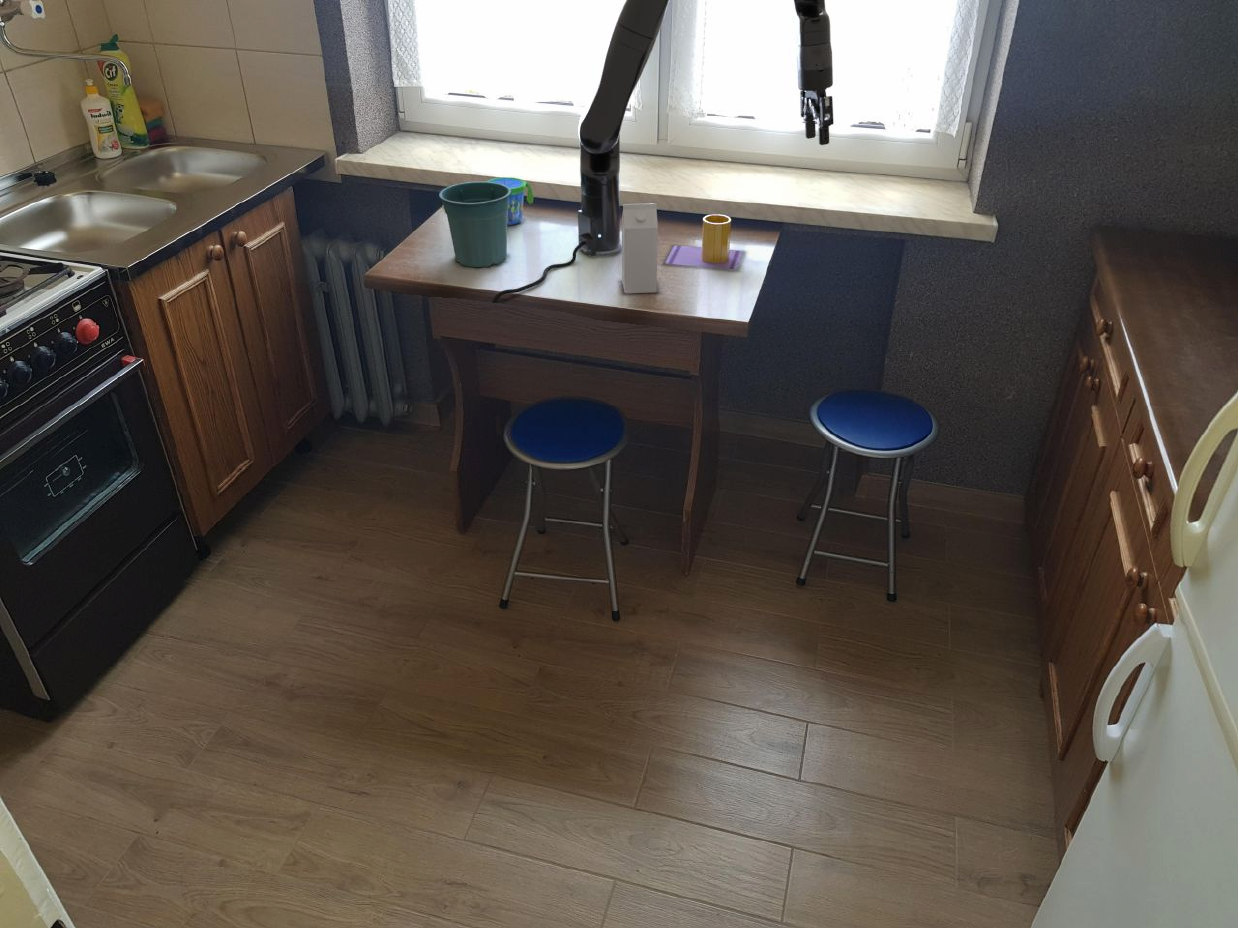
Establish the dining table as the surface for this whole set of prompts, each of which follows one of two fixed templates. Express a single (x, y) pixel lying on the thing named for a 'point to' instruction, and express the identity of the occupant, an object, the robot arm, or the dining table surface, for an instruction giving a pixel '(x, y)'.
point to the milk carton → (639, 248)
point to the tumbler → (716, 238)
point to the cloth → (693, 258)
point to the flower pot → (477, 221)
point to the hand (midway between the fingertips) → (817, 141)
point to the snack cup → (515, 197)
